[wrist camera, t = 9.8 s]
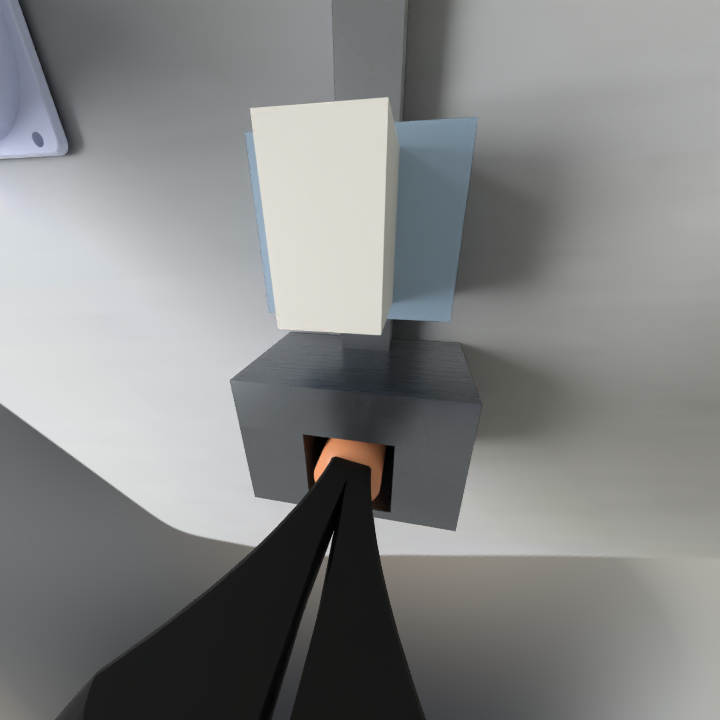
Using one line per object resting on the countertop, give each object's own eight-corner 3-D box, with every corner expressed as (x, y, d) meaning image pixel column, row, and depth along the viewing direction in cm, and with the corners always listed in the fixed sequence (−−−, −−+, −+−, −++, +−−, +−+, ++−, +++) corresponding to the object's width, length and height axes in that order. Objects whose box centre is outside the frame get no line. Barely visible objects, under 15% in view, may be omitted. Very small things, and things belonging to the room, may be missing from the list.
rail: (350, 345, 14) (342, 358, 12) (336, -471, 6) (312, -670, 5) (391, 348, 13) (388, 361, 12) (433, -512, 6) (438, -741, 4)
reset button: (341, 432, 14) (316, 500, 11) (340, 391, 13) (311, 450, 10) (389, 438, 14) (379, 510, 10) (391, 396, 13) (381, 459, 9)
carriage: (303, 293, 13) (212, 343, 7) (291, 158, 11) (151, 79, 5) (442, 299, 12) (463, 362, 6) (460, 150, 10) (517, 40, 4)
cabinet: (300, 423, 16) (255, 496, 12) (290, 332, 14) (229, 380, 10) (446, 441, 15) (458, 531, 10) (462, 343, 13) (485, 405, 8)
